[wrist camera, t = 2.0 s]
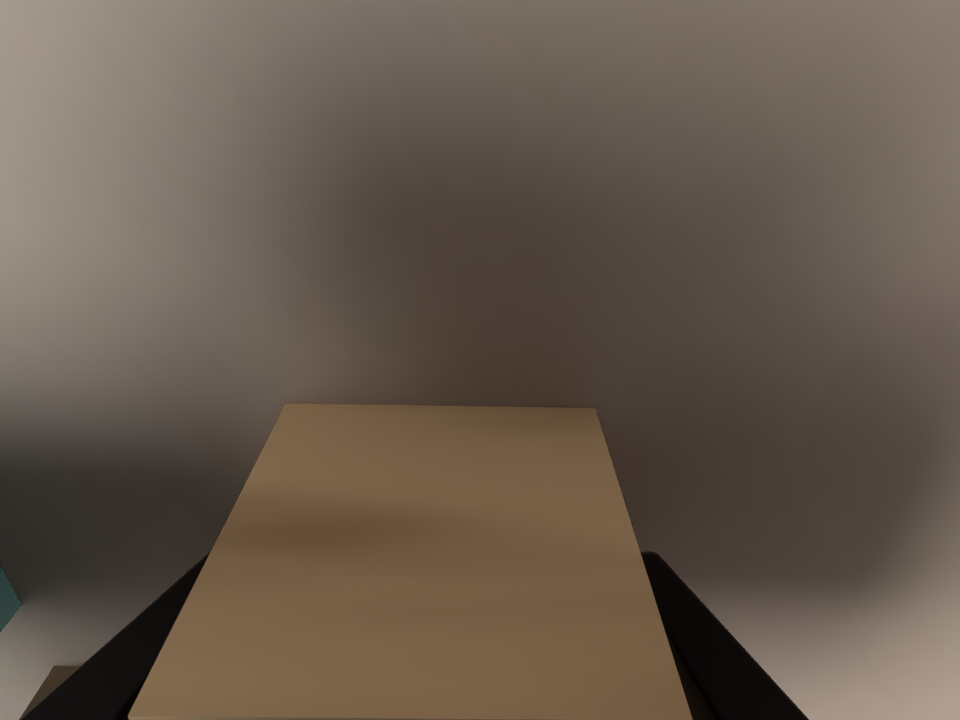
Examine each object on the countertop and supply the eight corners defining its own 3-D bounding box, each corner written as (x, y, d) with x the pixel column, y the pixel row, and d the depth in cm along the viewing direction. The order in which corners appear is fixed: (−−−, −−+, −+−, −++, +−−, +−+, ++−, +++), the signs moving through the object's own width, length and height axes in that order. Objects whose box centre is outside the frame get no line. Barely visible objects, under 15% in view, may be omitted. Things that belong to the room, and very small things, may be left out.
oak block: (564, 606, 12) (615, 933, 8) (321, 604, 12) (232, 933, 8) (594, 405, 10) (692, 720, 5) (287, 400, 9) (127, 716, 5)
